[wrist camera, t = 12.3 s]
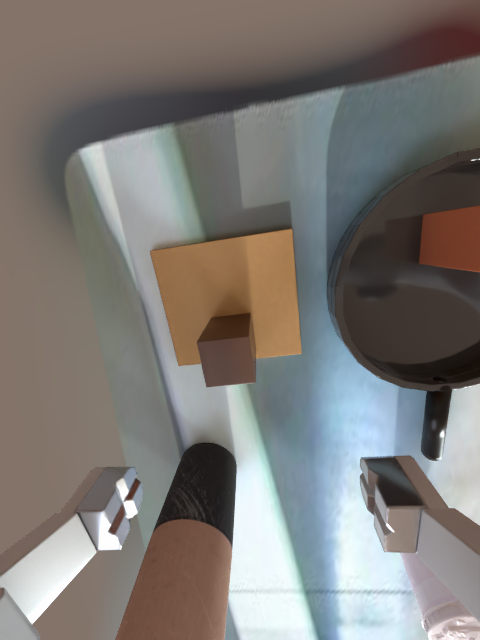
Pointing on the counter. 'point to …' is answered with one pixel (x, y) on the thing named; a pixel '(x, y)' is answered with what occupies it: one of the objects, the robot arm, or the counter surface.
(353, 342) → the pan
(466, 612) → the smoothie
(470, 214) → the terracotta block
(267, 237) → the mat
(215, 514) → the travel mug
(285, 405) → the counter surface
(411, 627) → the counter surface
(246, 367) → the walnut block
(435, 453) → the pan handle
